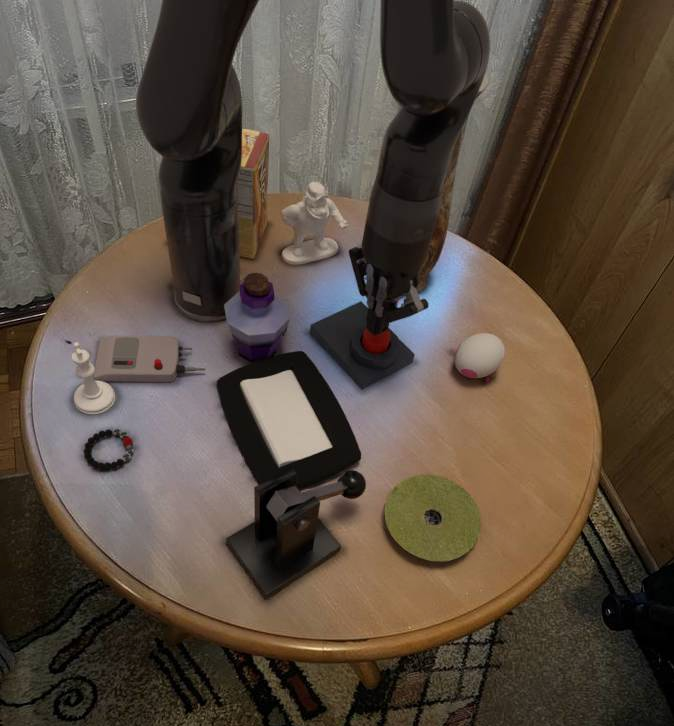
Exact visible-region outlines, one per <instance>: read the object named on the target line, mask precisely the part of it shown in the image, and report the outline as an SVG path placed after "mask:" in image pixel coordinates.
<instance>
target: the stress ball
mask: <svg viewBox="0 0 674 726" xmlns="http://www.w3.org/2000/svg"><path fill="white" fill-rule="evenodd" d="M490 332H491V331H489V332H481V333H476V334H473V335H470V336H469V337H467V338H466V339H464V341H462V342H461V343H460V344H459V346H458V347H457V349H456V351H455V352H454V351H452V353H454V365H455V367H456V369H457V371H458V372H459V373H460V374H461V375H463V376H464V377H467V378H471V379H479V378H480V379H481V378H484V377H485V383H488V382H490V380H491V378H489V377H488V376H489V375H491V374H492V373H494V372H495V371H497V370H498V368H500V366H501V365H502V364H503V362H504V358H505V354H506V348H505V344H504V342H503V341H502V339H500V337H498V336H496V335H495V334H493V333H490Z"/></svg>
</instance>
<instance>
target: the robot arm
mask: <svg viewBox="0 0 674 726" xmlns="http://www.w3.org/2000/svg"><path fill="white" fill-rule="evenodd" d="M259 1H260V0H161V6H160V11H159V15H158V19H157V23H156V27H155V31H154V34H153V37H152V41H151V45H150V48H149V52H148V53H147V54H148V55H147V58H146V61H145V65H144V67H143V71H142V74H141V77H140V80H139V83H138V86H137V90H136V96H135V111H136V117H137V122H138V124H139V128H140V130H141V132H142V134H143V136H144V138H145V140H146V141H147V142H148V144H149V146H150V147H151V148H152V149H153V150H154V151H155V152H156V153H157V154H159V155H160V156H161V160H160V163H159V168H158V172H157V183H158V191H159V197H160V203H161V210H162V218H163V224H164V230H165V236H166V244H167V251H168V258H169V267H170V272H171V280H172V287H173V298H174V299H173V300H174V304H175V307H176V308H177V309H178V311H179V312H180V313H181V314H182V315H183V316H185V317H187V318H189V319H191V320H194V321H197V322H204V323H211V322H218V321H222V320H225V319H226V313H225V308H224V304H225V303H227V302H228V301H229V300H230V299H231V298H232V297H233V296H234V295H235V294H237V293H238V292H239V291H240V287H239V286H240V285H241V260H240V259H241V258H240V257H241V256H240V253H239V224H238V196H237V193H238V192H237V184H238V178H239V173H240V168H241V160H242V129H243V97H242V91H241V90H242V89H241V84H240V80H239V77H238V75H237V71H236V69H235V67H234V65H233V61H234V57H235V55H236V51H237V48H238V45H239V43H240V40H241V38H242V36H243V33H244V31H245V30H246V28H247V25H248V23H249V21H250V19H251V18H252V15H253V13H254V12H255V9H256V7H257V5H258V3H259ZM379 12H380V15H379V21H380V22H379V51H380V52H379V53H380V62H381V69H382V73H383V77H384V80H385V84H386V86H387V88H388V90H389V93H390V95H391V96H392V98H393V99H394V101H395V102H396V103H397V105H398V106H399V107H400V109H399V110H398V111H397V113H396V114H395V115H394V117H393V118H392V119H391V121H390V122H389V124H388V126H387V127H386V129H385V132H384V135H383V138H382V143H381V148H380V153H379V158H378V165H377V170H376V174H375V179H374V182H373V184H372V188H371V190H370V194H369V201H368V206H367V213H366V217H365V222H364V230H363V235H362V240H361V244H359V245H356V246H354V247H352V248H350V249H348V256H349V259H350V263H351V267H352V270H353V274H354V278H355V281H356V286H357V289H358V293H359V295H360V296H361V297H365V298H366V306H367V307H368V314H367V318H366V322H367V327H366V328H367V329H368V330H369V331H370V332H371V333H372V335H373V336H375V335H377V334H378V335H379V334H381V333H383V332H385V331H387V330H388V328H389V327H390V324H391V323H395V322H397V321H400V320H403V319H407V318H409V317H412V316H414V315H416V314H419V313H421V312H423V311H424V310H427V309H428V308H429V301H428V300H427V299H426V298H422V299H421V298H420V295H419V292H417V290H416V288H417V287H418V284H419V278H418V272H419V270H420V268H421V266H422V265H423V263H424V261H425V259H426V257H427V253H428V249H429V246H430V242H431V239H432V235H433V232H434V228H435V225H436V221H437V218H438V214H439V211H440V206H441V199H442V192H443V187H444V184H445V180H446V177H447V173H448V170H449V166H450V163H451V158H452V153H453V149H454V146H455V144H456V141H457V139H458V137H459V134H460V132H461V130H462V131H463V128H464V126H465V123H466V121H467V119H468V117H469V115H470V114H471V113H470V112H471V111H472V108H473V106H474V104H475V101H476V100H477V98H478V97H477V94H478V92H479V89H480V87H481V84H482V82H483V79H484V76H485V73H486V72H487V70H488V69H487V68H488V65H489V59H490V53H491V36H490V31H489V27H488V24H487V21H486V19H485V17H484V16H483V13H482V12H480V10H479V9H478V8H477V7H476V6H474V5H473V4H471V3H469V2H467V1H465V0H380V9H379ZM486 74H487V73H486ZM476 97H477V98H476ZM475 99H476V100H475ZM365 276H366V280H365ZM404 294H406V295H404ZM403 296H405V298H404V299H403V303H401V304H400V307H398V304H399V301H400V300H401V299H402V298H403Z"/></svg>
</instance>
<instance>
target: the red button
mask: <svg viewBox="0 0 674 726" xmlns="http://www.w3.org/2000/svg"><path fill="white" fill-rule="evenodd" d="M390 337H391V336H390V333H389V331H388V330H387V331H385V332H383V333H381V334H379V335H378V334H377V335H375V336H373V335H372V333H371V332H370V331H369V330H368V329H367V328H366V329H365V330H364V333H363V339H362V346H363V347H364V349H365V350H366V351H368V352H370V353H373V354H380V353H383V352H385V351H386V350H387V349H388V346H389V342H390Z"/></svg>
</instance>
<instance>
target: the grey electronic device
mask: <svg viewBox="0 0 674 726" xmlns="http://www.w3.org/2000/svg"><path fill="white" fill-rule="evenodd" d="M192 350H193V347H183V346H181V345H179V340H178V338H177V337H176V336H173V335H171V336H170V335H165V336H164V335H120V334H119V335H117V334H116V335H115V334H113V335H108V336H105V337H101V338H100V339H99V342H98V348H97V354H96V360H95V365H94V368H95V371H94V373H93V378H94V380H95V381H103V382H134V383H135V382H137V383H139V382H144V383H146V382H147V383H149V382H150V383H154V382H155V383H157V382H159V383H161V382H163V383H173V382H174V381H175V380H176V379H177V377H178V374H184V373H185V372H196V371H199V372H201V371H203V372H204V371H205V372H206V368H205V367H195V366H194V367H193V366H188V367H187V366H185V365H182V364H180V358H181V357H184V356H185V357H186V356H188V355H189V354H188V353H183V352H182V351H192ZM180 351H181V352H180Z"/></svg>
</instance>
